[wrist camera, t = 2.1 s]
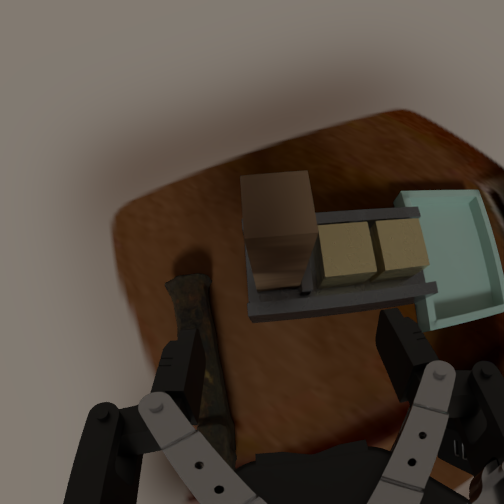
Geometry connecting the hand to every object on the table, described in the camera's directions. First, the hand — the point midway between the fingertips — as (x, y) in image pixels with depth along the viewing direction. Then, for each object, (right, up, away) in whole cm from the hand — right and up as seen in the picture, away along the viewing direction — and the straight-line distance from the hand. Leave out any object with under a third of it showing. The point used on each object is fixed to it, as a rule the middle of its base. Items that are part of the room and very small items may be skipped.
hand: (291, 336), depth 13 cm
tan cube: (+10, +3, +13) cm, 17 cm away
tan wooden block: (0, +2, +13) cm, 14 cm away
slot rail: (+6, +2, +16) cm, 17 cm away
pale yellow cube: (+6, +3, +13) cm, 15 cm away
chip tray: (+20, +3, +15) cm, 25 cm away
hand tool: (-5, -8, +14) cm, 17 cm away
